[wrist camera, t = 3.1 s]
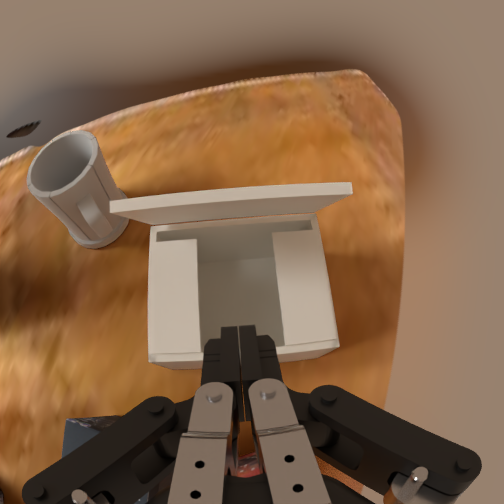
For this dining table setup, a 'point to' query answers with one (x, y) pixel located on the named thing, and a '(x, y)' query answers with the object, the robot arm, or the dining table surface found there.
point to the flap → (231, 202)
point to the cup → (78, 188)
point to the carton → (238, 287)
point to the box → (90, 427)
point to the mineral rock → (1, 497)
